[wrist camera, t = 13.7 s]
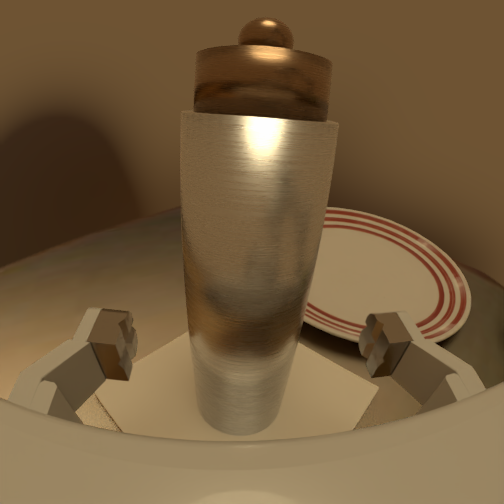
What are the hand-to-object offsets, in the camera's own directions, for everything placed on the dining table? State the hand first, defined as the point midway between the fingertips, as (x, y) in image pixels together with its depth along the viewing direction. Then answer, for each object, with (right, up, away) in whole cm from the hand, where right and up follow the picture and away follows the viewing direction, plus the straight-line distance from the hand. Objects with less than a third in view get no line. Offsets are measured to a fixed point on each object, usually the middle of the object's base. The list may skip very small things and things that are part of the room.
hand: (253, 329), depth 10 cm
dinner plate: (+13, -1, +24) cm, 27 cm away
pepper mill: (-1, -7, +7) cm, 10 cm away
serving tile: (-1, -8, +8) cm, 11 cm away
